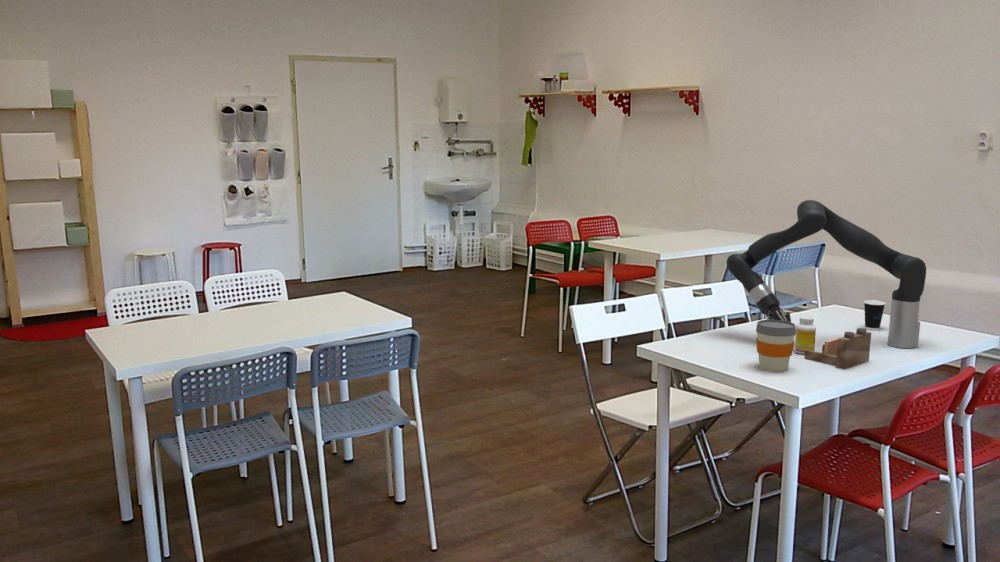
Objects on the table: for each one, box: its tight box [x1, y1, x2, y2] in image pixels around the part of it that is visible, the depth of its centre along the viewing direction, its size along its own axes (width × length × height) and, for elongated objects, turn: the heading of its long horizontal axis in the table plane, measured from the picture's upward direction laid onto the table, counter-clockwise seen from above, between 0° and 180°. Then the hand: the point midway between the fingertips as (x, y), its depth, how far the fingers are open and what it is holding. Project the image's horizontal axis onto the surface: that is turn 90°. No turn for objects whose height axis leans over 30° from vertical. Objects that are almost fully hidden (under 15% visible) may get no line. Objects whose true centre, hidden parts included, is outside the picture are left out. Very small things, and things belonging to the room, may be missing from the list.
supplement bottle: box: [793, 315, 817, 356], centre depth 286 cm, size 7×7×13 cm
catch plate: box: [824, 337, 839, 356], centre depth 278 cm, size 1×9×6 cm, turn 128°
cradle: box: [804, 327, 872, 370], centre depth 277 cm, size 16×16×12 cm
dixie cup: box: [863, 299, 886, 332], centre depth 321 cm, size 8×8×11 cm
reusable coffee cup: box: [755, 319, 797, 372], centre depth 268 cm, size 13×13×15 cm
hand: (791, 337), depth 290 cm, fingers closed
